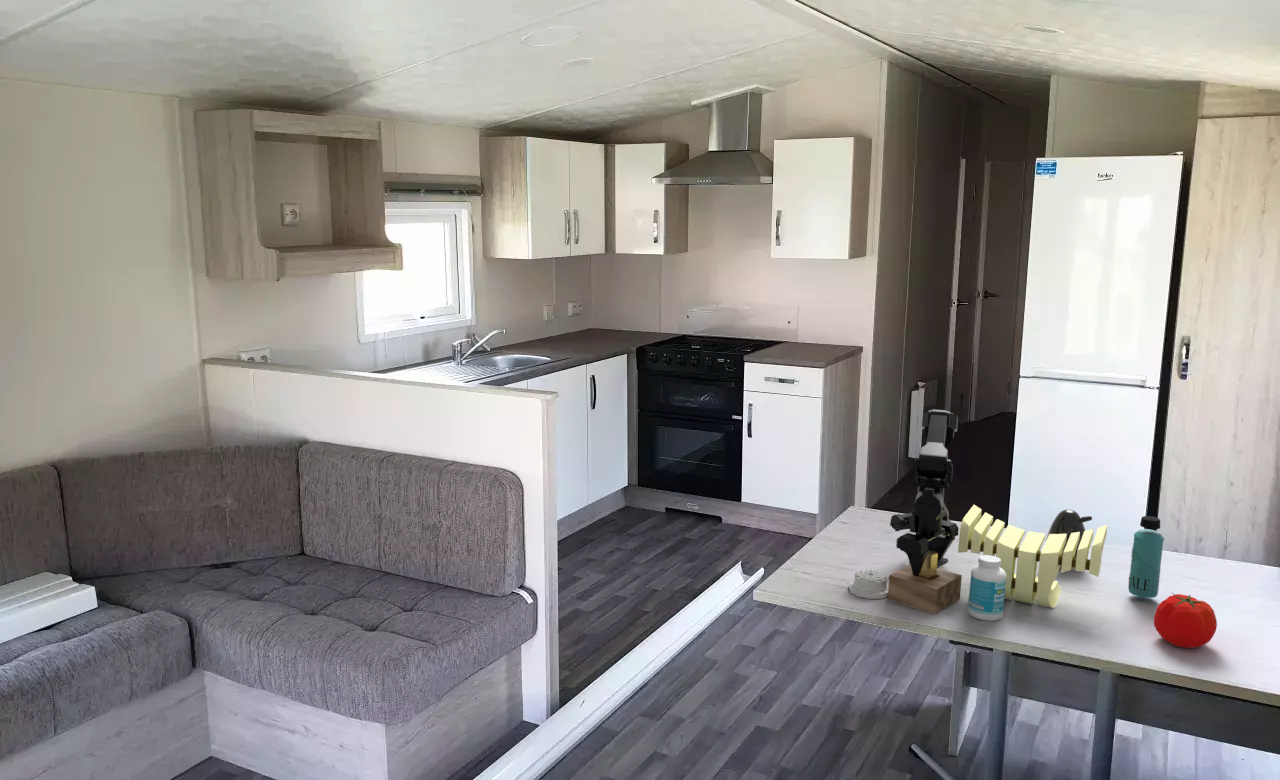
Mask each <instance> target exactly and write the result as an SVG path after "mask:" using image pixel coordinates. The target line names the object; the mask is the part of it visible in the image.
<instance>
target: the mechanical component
mask: <svg viewBox="0 0 1280 780" xmlns="http://www.w3.org/2000/svg"><path fill="white" fill-rule="evenodd" d="M888 586H889V582H888V576H887V574H886V573H883V572H882V571H878V570H876V569H868V568H867V569H864V570H863V569H862V570H861V569H859V570H858V571H855V573H854V579H853V580H851V581H850V582H849V584H848V590H849V592H850V593H851V594H853V595H854V596H857V597H859V598H865V599H871V600H872V599H873V600H874V599H875V600H879V599H885V598H888Z"/></svg>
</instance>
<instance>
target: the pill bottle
mask: <svg viewBox="0 0 1280 780" xmlns="http://www.w3.org/2000/svg"><path fill="white" fill-rule="evenodd" d="M977 560H978V561H977V562H978V564H976V565H974V566H973V567H972V568H971V571H970V582H969V593H968V594H969V597H968V607H967V611H968V614H969V615H970V616H972V617H973V618H975V619H978V620H981V621H985V622H995V621H999V620H1001V619H1002V618H1003V615H1004V606H1005V599H1004V596H1005V585H1006V573H1005V571H1004V570H1003V569H1002V568H1000V565H1001V559H1000V558H998V557H996V555H994V556H991V555H983V554H982V555H980V556H978V559H977Z"/></svg>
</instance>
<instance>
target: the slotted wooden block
mask: <svg viewBox="0 0 1280 780" xmlns="http://www.w3.org/2000/svg"><path fill="white" fill-rule="evenodd" d="M962 578H963V575H962V574H959V573H955V572H952V571H948V570H945V569H941V568H938V567H937V573H936V578H935V579H933V580H928V579H925V578H921V577H916V576H914V575H913V572H912V569H911V565H910V564H908V565H906V566H904V567H902V568H900V569H898V570H896V571H894V572H892V573H890V574H889V575H888V584H889V586H888V597H887V600H889V601H892V602H896V603H898V604H901V605H905V606H908V607H911V608H913V609H917V610H921V611H924V612H927V613H929V612H930V614H933V615H936V614H938V613H940V612H942V611H943V610H945V609H946V608H948V607H950V606H952V605H953V604H956V602H958V601H960V600H961V591H962V580H963V579H962Z"/></svg>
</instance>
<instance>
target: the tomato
mask: <svg viewBox="0 0 1280 780" xmlns="http://www.w3.org/2000/svg"><path fill="white" fill-rule="evenodd" d="M1171 594H1172V595H1170V596H1168V597H1167V598H1166V599H1164V600H1162V601H1161V602H1160V603H1159V604H1157V606H1156V609H1155V613H1154V615H1153V616H1154V617H1153V625H1154V628H1155V631H1156V632H1157V633H1158V635H1159V636H1160V637H1161V638H1162V639H1163V640H1165V641H1166V642H1167V643H1170V644H1172V645H1173V646H1176V647H1177V648H1178V647H1179V648H1186V649H1195V648H1200V647H1202V646H1205V645H1206V644H1208V643H1209V642H1211V640H1212V639H1213V637H1214V635H1215V633H1216V632H1217V627H1218V625H1217V624H1218V623H1217V617H1216V613H1215V611H1214V609H1213V607H1212V606H1211V605H1210V604H1209V603H1208V602H1207V601H1205V600H1198V599H1197V598H1195V597H1193V596H1191V594H1188V595H1186V594H1180V593H1178V594H1175V593H1173V592H1171Z"/></svg>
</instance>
